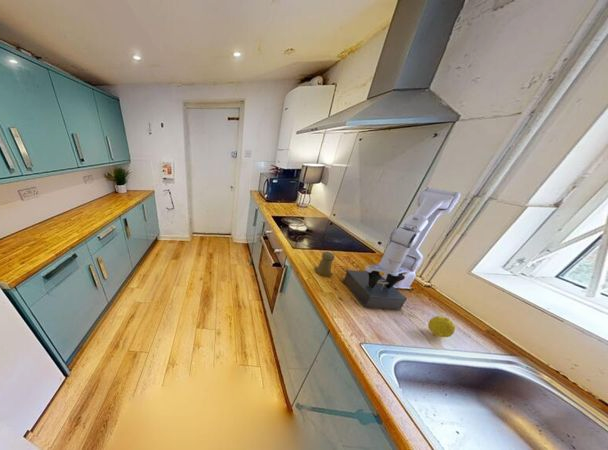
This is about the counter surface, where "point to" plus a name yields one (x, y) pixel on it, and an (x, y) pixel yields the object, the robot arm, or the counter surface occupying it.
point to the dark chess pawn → (325, 264)
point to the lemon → (441, 326)
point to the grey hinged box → (372, 302)
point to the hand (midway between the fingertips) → (378, 286)
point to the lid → (379, 289)
